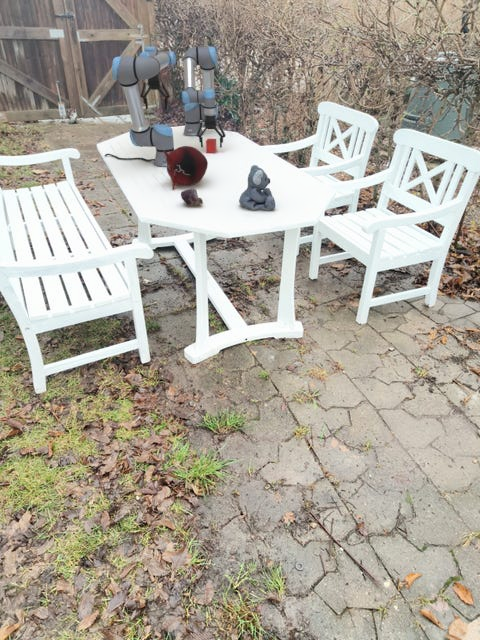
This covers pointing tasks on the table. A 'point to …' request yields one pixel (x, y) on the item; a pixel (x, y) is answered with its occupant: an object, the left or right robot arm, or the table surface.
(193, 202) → the rock
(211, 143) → the brick
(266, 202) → the koala plush
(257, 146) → the table surface
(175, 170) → the dark red rounded piece
